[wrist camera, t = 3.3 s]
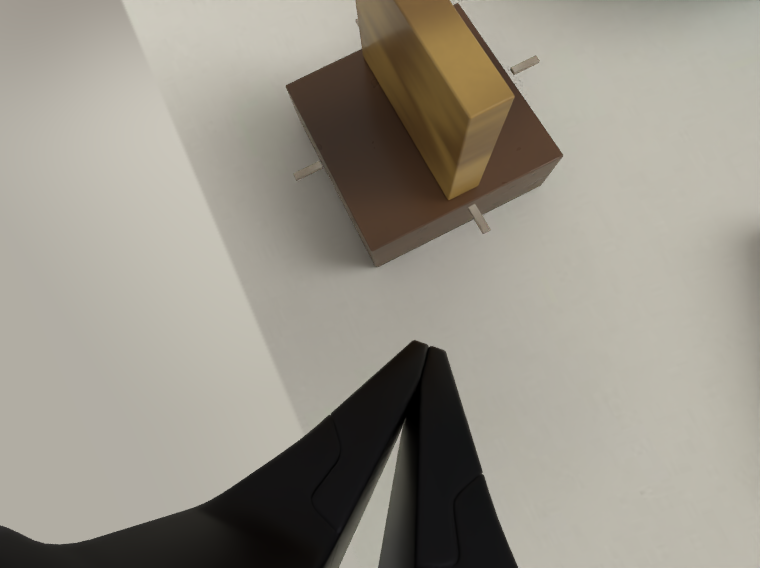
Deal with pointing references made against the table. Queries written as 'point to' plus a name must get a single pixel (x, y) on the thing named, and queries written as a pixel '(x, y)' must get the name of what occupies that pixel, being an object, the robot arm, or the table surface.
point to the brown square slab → (408, 157)
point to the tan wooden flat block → (437, 85)
